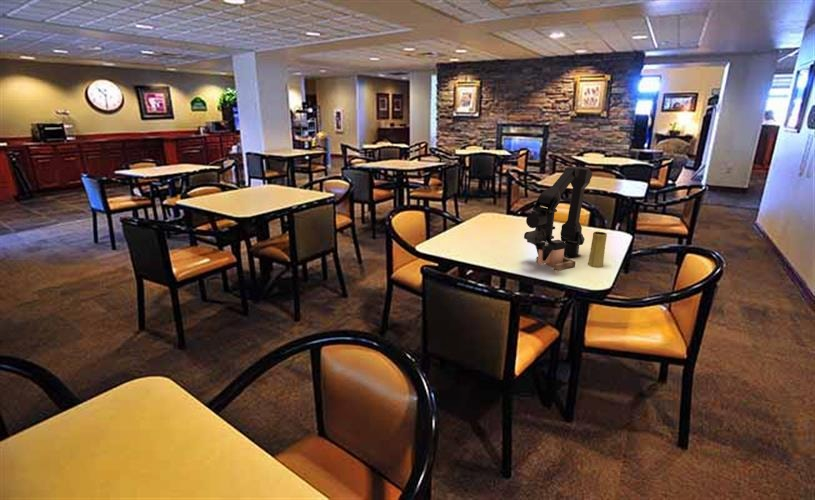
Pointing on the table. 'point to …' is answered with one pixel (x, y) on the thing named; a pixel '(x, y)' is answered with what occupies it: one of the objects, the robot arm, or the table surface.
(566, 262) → the walnut holder
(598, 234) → the vase
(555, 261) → the pink block
